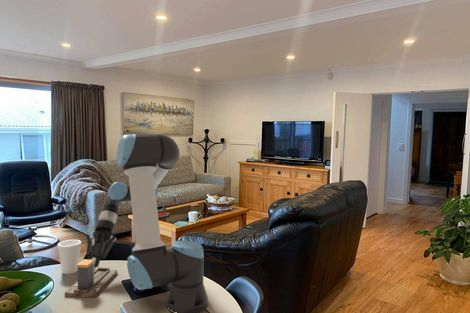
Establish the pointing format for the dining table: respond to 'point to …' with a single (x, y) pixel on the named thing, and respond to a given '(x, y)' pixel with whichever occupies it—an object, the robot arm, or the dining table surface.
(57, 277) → the dining table surface
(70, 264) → the foam cup
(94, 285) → the brown wooden flat board
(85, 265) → the fader tab
